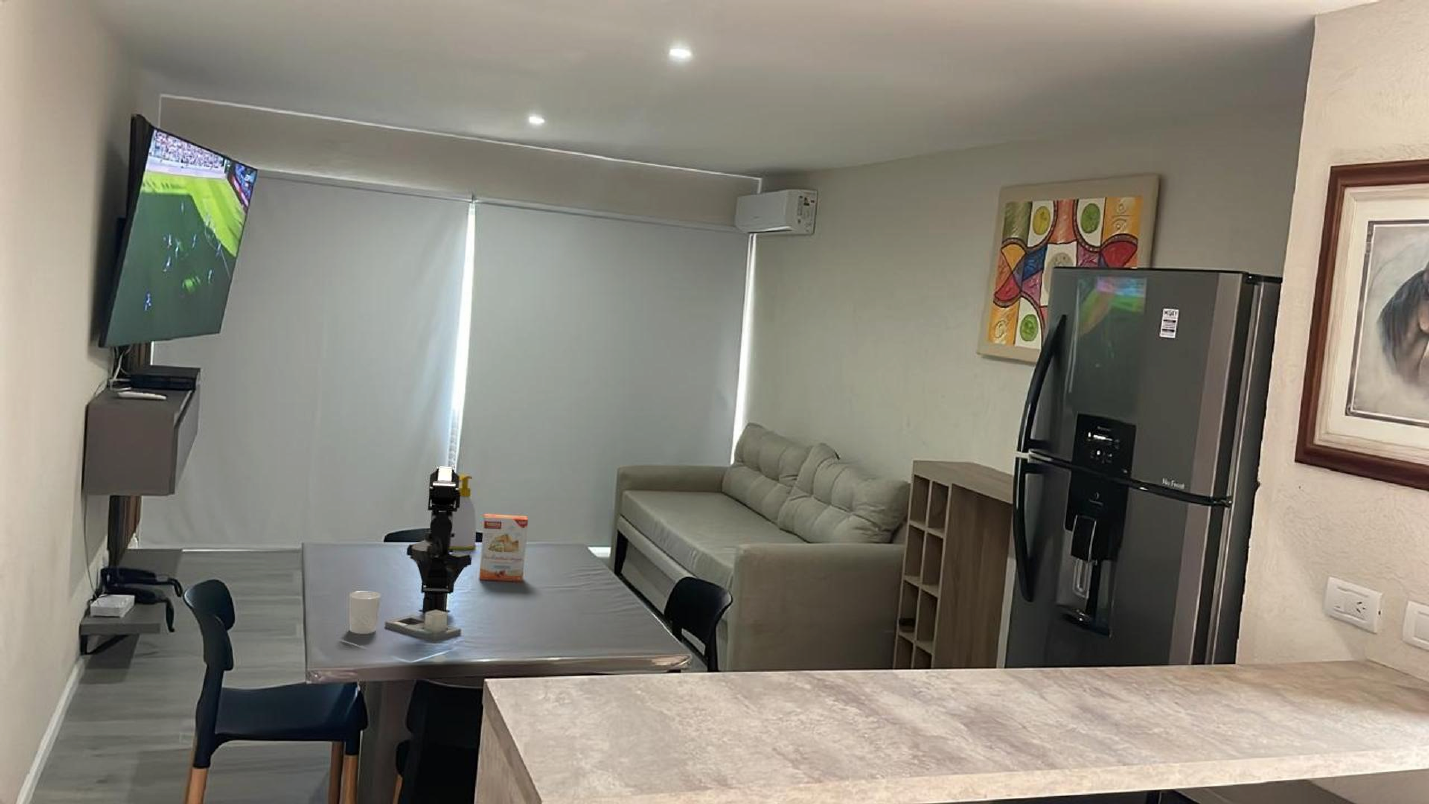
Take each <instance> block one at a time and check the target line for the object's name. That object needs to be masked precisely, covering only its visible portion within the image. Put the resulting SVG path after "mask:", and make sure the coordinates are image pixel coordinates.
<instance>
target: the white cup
mask: <svg viewBox="0 0 1429 804" xmlns="http://www.w3.org/2000/svg"><path fill="white" fill-rule="evenodd" d="M381 597H382V595H381V593H379V592H376V591H370V590H369V591H368V590H360V591H353V592H351V593H349V609H348V610H349V611H348V613H349V631H350V632H351V633H354V634H360V635H363V634H373V633H375V632H376V631H377V624H378V619H379V613H380V605H381V604H380V603H381Z"/></svg>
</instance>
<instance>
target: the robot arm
mask: <svg viewBox="0 0 1429 804" xmlns="http://www.w3.org/2000/svg"><path fill="white" fill-rule="evenodd" d="M459 476H460V475H458V474H457V472H455V467H453V466H441V465H439V466H436V470H435V471H433V472H432V473H431V474H430V475H429V483H428V484H429V487H428V502H427V503H428V504H427V511H429V512H430V511H431V513H430V514H431V515H430V524H429V532H426V534H425V536H424V537H425V538H424V540H420V541H419V542H417V543H412V544H409V545H408V546H407V548H406V556H409V558H410V560H412V561H414V562H415V564H416V566H417V568H418V569H417V570H418V573H419V576H420V579H421V589H420V590H421V591H420V592H421V594H423V599H422V608H421V609H419V610H418V611H419V612H420V613H424V614H425V613H426V612H429V611H433V610H439V611H443V612H446V613H447V614H448V613H450V612H451V610H449V609H447V603H448V594H449V595H452V593H454V589H455V587H454V586H455V583H456V582H457V580H458V578H459V577H460V575H461V573H462V572H463V570H464V569H465V568H467V567H468V566H471V565H472V556H471V555H470V554H468V553H465V552H455V553H454V548H451V538H452V537H454V536H455V533H452V521H453V513H452V512H457V508H459V507H460V492H459V487H460V482H459ZM455 501H456V502H455ZM454 505H455V508H454Z"/></svg>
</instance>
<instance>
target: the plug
mask: <svg viewBox="0 0 1429 804" xmlns="http://www.w3.org/2000/svg"><path fill="white" fill-rule="evenodd" d="M424 615H425V617H424V618H425V627H424V630H427V631H430V632H433V633H439V632H442V631H446V625H447V623H448V622H447V620H448V612H447V613H446V612H443V611H439V610H433V611H429V612H426V613H424Z"/></svg>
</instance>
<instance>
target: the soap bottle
mask: <svg viewBox="0 0 1429 804" xmlns="http://www.w3.org/2000/svg"><path fill="white" fill-rule="evenodd" d="M458 476H459V483H461V486H459V492H460V507H459V508H457V512H452V513H453V521H452V533H455V536H454V537H452V538H451V548H454V549H453V551H454V550H455V551H468V550H469V551H470V550H474V549H475V548H476V546H477V544H476V536H477V534H476V533H477V531H476V530H477V529H476V528H477V526H476V525H477V522H476V509H475V505H474V501H473V498H472V497H471V491H472V488H471V487H470V486H469V487H468V485H469V479H470V480H473V477H472V476H470V475H465V474H464V475H463V474H461V475H458ZM455 502H456V501H455ZM454 508H455V505H454Z"/></svg>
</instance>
